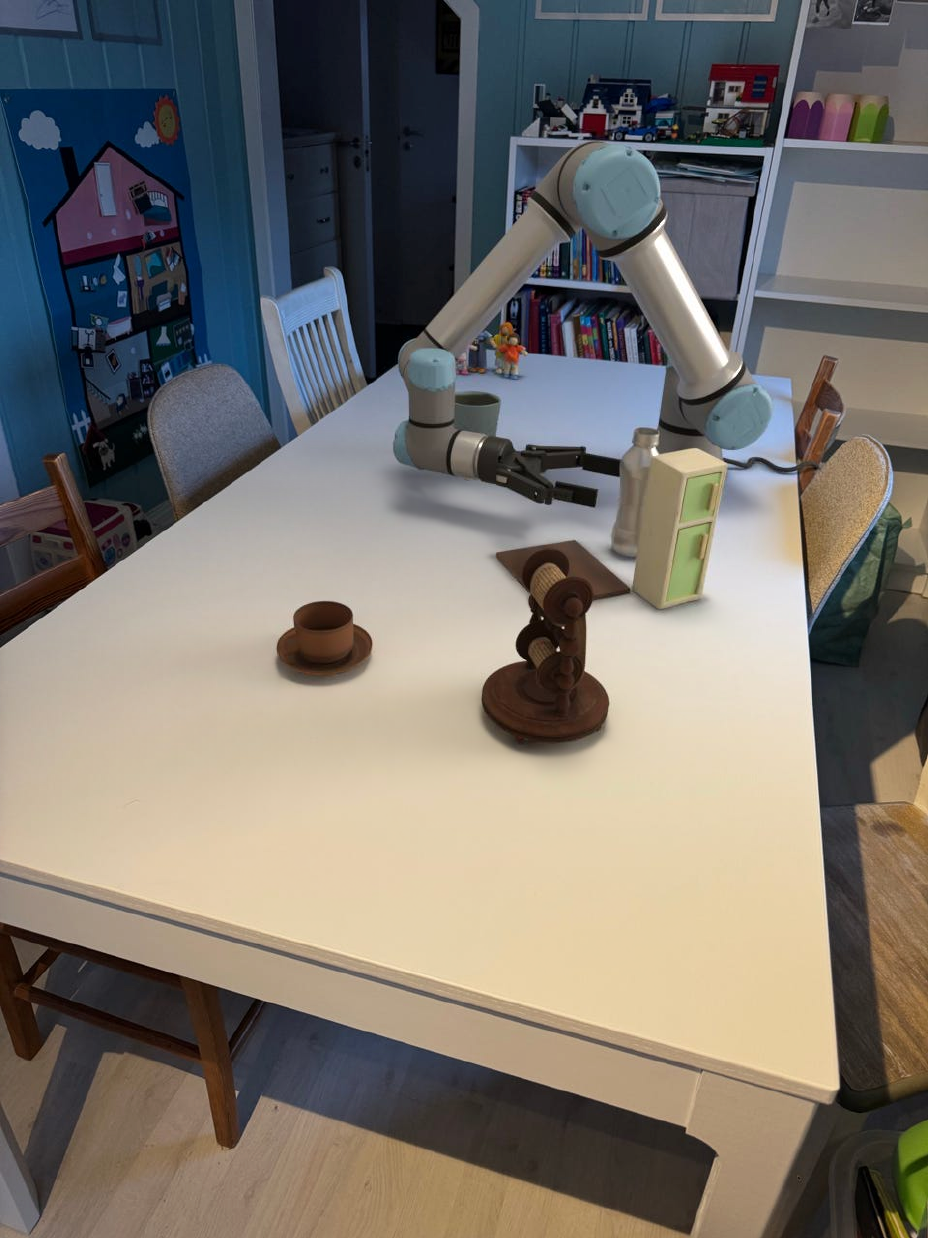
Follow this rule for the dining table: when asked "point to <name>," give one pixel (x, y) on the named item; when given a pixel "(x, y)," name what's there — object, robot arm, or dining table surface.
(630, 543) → the silver metal bottle
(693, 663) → the dining table surface
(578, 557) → the walnut board
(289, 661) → the cup and saucer
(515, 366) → the doll family
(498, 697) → the wooden spool stand
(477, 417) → the green embossed cup
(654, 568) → the toy refrigerator
